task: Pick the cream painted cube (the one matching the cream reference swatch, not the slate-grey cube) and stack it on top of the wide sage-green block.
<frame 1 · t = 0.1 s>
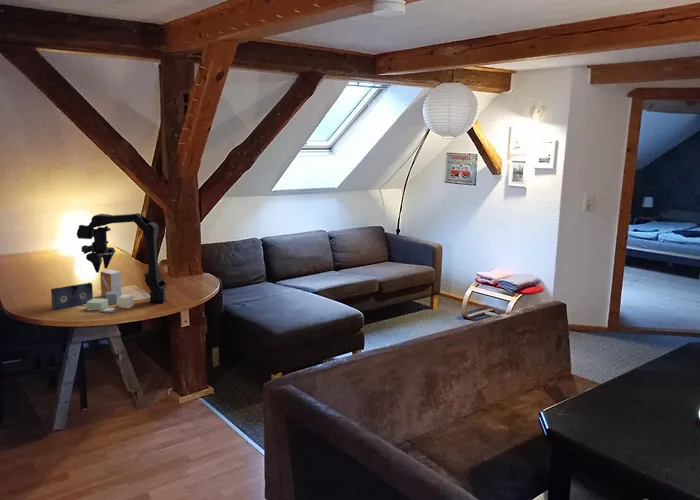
hand: (101, 270, 273), 15 cm above the table, fingers open, 9 cm apart
vhs cassette tape: (73, 306, 263), on the table
reference swatch: (109, 310, 258), on the table
slate cube: (112, 302, 271), on the table
small box: (111, 296, 281), on the table
sage block: (97, 308, 261), on the table
cream cube: (126, 306, 266), on the table
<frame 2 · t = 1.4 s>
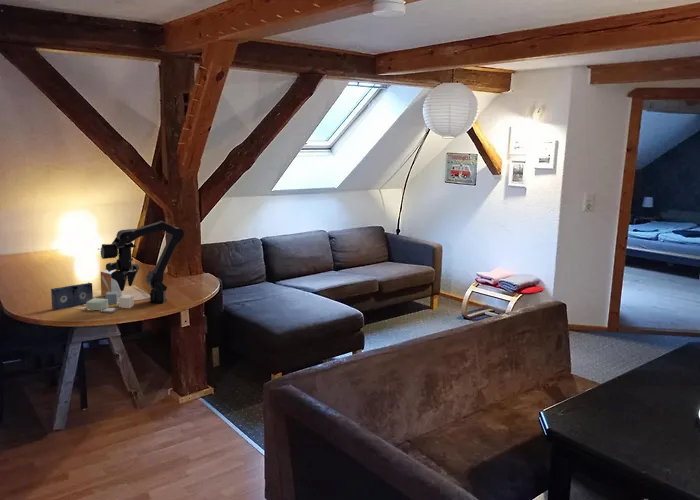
hand: (126, 288, 265), 9 cm above the table, fingers open, 9 cm apart
nothing on the table moved.
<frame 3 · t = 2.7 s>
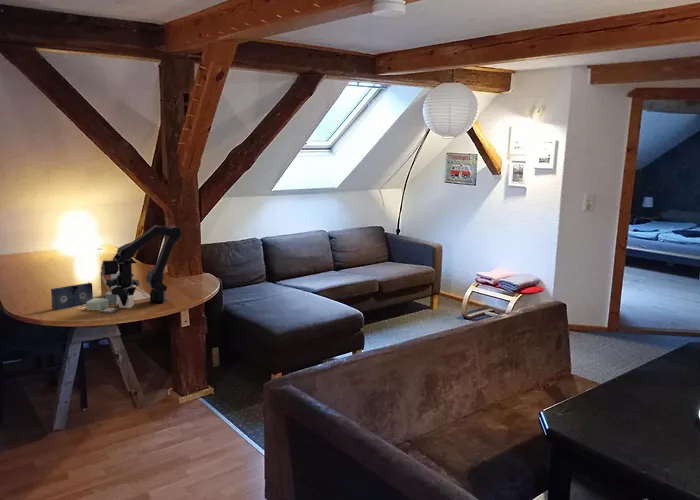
hand: (126, 304, 266), 1 cm above the table, fingers closed on cream cube, 5 cm apart
cream cube: (126, 306, 266), on the table, touching gripper
everything else where it was.
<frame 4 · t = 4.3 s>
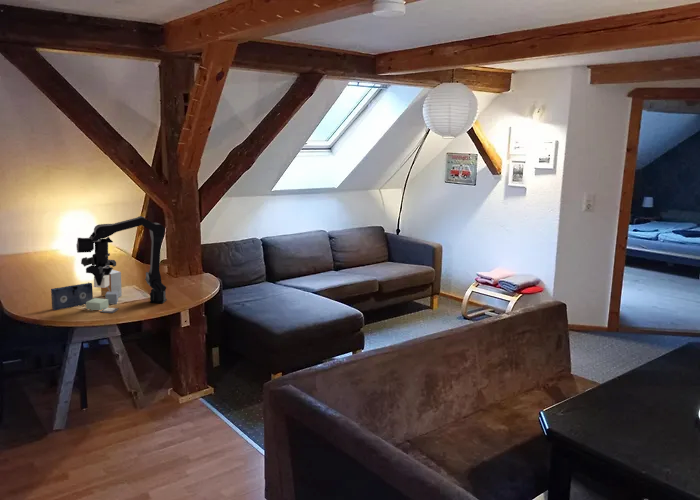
hand: (101, 284, 259), 12 cm above the table, fingers closed on cream cube, 5 cm apart
cream cube: (101, 286, 260), point 11 cm above the table, touching gripper
everything else where it was.
when the fingers open (6 cm above the table, at t = 5.8 s): cream cube drops 1 cm, resting on sage block.
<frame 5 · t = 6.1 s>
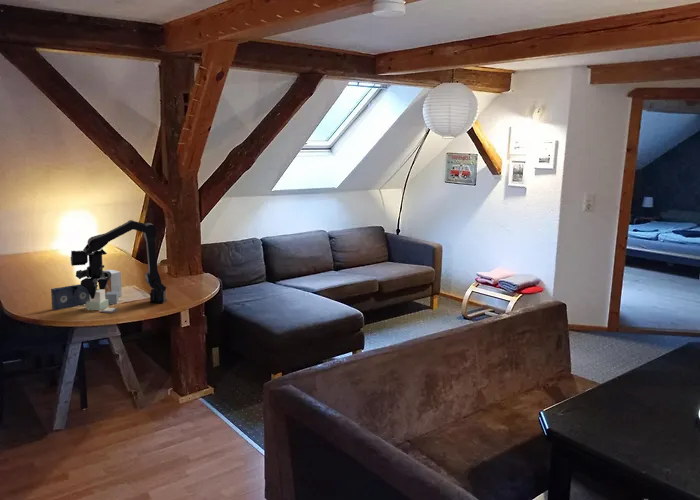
hand: (97, 296, 260), 6 cm above the table, fingers open, 9 cm apart
sage block: (97, 308, 261), on the table, touching cream cube
cream cube: (97, 300, 260), point 4 cm above the table, touching sage block
everything else where it was.
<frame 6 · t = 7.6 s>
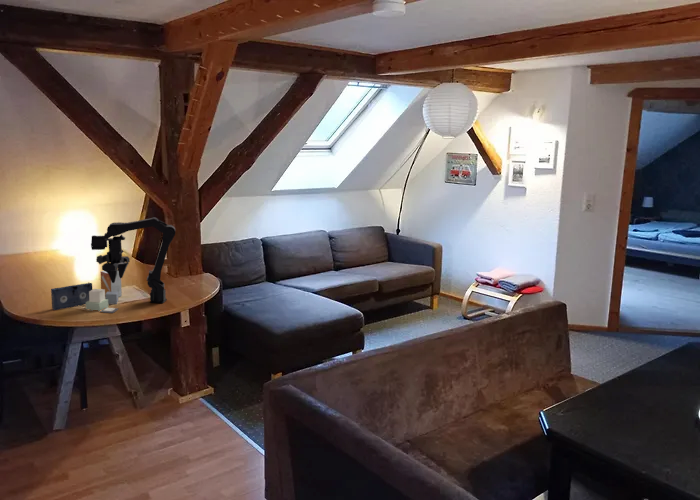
hand: (117, 280, 268), 12 cm above the table, fingers open, 9 cm apart
sage block: (97, 308, 261), on the table
cream cube: (97, 300, 260), point 4 cm above the table
everything else where it was.
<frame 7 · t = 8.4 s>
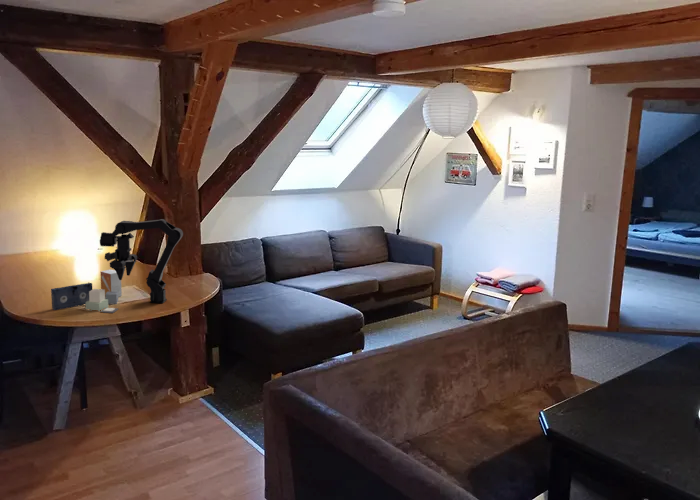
hand: (124, 277, 272), 12 cm above the table, fingers open, 9 cm apart
sage block: (97, 308, 261), on the table, touching cream cube
cream cube: (97, 300, 260), point 4 cm above the table, touching sage block
everything else where it was.
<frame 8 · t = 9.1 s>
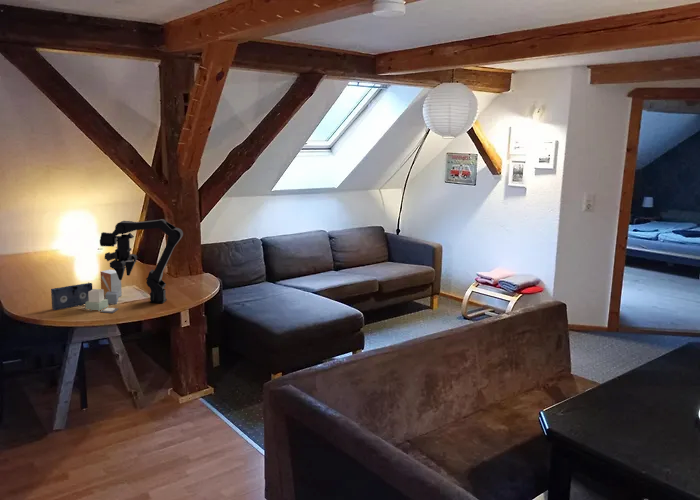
hand: (124, 277, 272), 12 cm above the table, fingers open, 9 cm apart
sage block: (97, 308, 261), on the table
cream cube: (96, 300, 260), point 4 cm above the table
everything else where it was.
at the end: cream cube 0.2 cm off-centre on the sage block, point 4.0 cm above the sage block's base; cream cube tilted 0°; slate cube moved 0.1 cm from its start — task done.
